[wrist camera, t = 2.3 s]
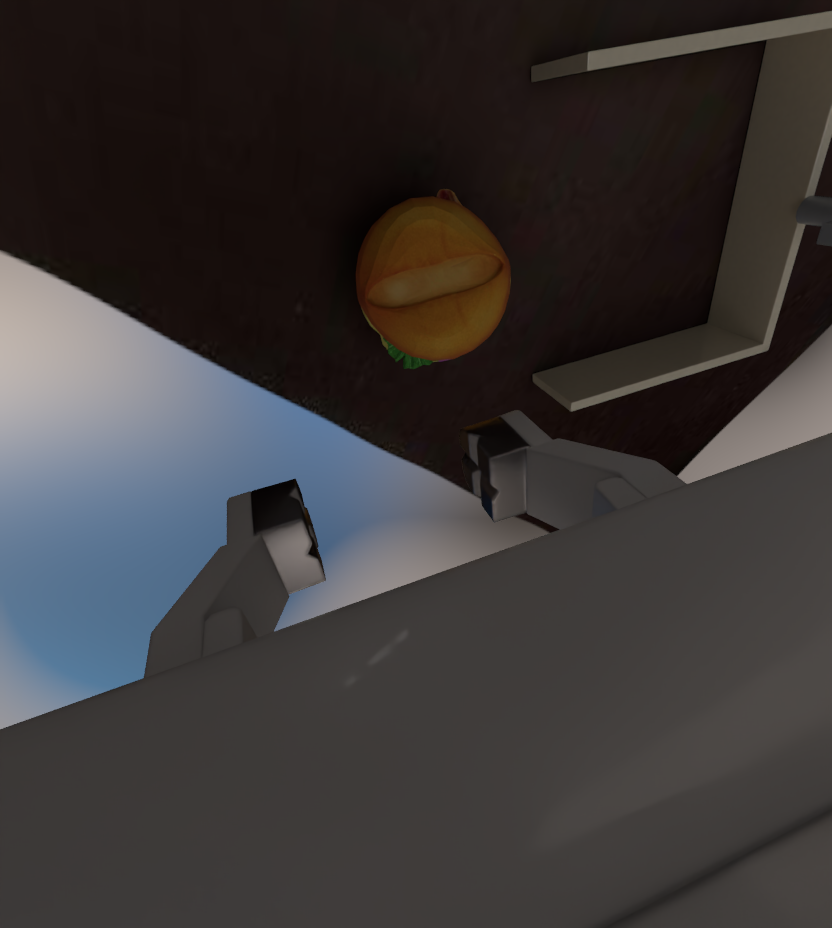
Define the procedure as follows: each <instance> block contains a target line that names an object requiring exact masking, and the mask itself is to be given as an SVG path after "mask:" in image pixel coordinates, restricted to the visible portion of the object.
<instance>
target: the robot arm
mask: <svg viewBox="0 0 832 928" xmlns="http://www.w3.org/2000/svg"><path fill="white" fill-rule="evenodd" d="M459 440H460V445H461V446H462V448H463V449H464V450H465V454H464V456H463V458H462V466H463V472H464V475H465V478H466V481H467V483H468V485H469V487H470V489H471V491H472V492H473V494H474V495H477V496H480V497H481V501H482V506H483V508H484V509H485V511H486V512H487V513H488V515H489V516H490V517H491V519H492V520H493V522H497V521H500V520H504V519H507V518H510V517H513V516H516V515H520V514H523V513H526V512H527V514H529V515H531V516H533V517H535V518H538V519H540V520H542V521H544V522H546V523H548V524H550V525H552V526H554V527H556V528H558V529H561V530H558V531H555V532H552V533H550V534H547V535H544V536H541V537H538V538H536V539H533V540H530V541H527V542H524V543H522V544H519V545H516V546H513V547H511V548H508V549H505V550H502V551H499V552H497V553H494V554H491V555H488V556H485V557H482V558H480V559H477V560H474V561H471V562H468V563H466V564H463V565H460V566H457V567H455V568H452V569H449V570H446V571H443V572H441V573H437V574H435V575H432V576H429V577H426V578H423V579H421V580H418V581H415V582H412V583H410V584H407V585H404V586H401V587H398V588H396V589H393V590H390V591H387V592H384V593H381V594H379V595H376V596H373V597H370V598H368V599H365V600H362V601H359V602H356V603H353V604H351V605H348V606H345V607H342V608H340V609H337V610H334V611H331V612H328V613H325V614H323V615H320V616H317V617H314V618H311V619H309V620H306V621H303V622H300V623H297V624H295V625H292V626H289V627H286V628H283V629H281V630H278V631H275V632H274V629H275V627H276V625H277V623H278V621H279V618H280V616H281V614H282V612H283V609H284V607H285V605H286V602H287V600H288V598H289V594H291V593H294V592H297V591H299V590H302V589H305V588H307V587H310V586H313V585H315V584H318V583H321V582H323V581H325V580H326V578H325V574H324V569H323V565H322V560H321V557H320V554H319V552H318V549H317V548H318V543H317V538H316V535H315V532H314V528H313V524H312V522H311V519H310V515H309V513H308V510H307V508H305V507H304V502H303V498H302V494H301V491H300V488H299V486H298V484H297V481H296V479H293V480H289V481H286V482H282V483H279V484H275V485H272V486H268V487H265V488H261V489H257V490H254V491H252V492H247V493H243V494H240V495H237V496H234V497H231V498H229V499H228V501H227V545H225V546H222V547H220V548H219V549H218V551H217V552H216V553H215V554H214V556H213V557H212V558H211V559H210V560H209V562H208V563H207V564H206V565H205V567H204V568H203V569H202V570H201V572H200V573H199V574H198V575H197V577H196V578H195V579H194V580H193V582H192V583H191V584H190V585H189V587H188V588H187V589H186V590H185V592H184V593H183V594H182V595H181V597H180V598H179V599H178V600H177V602H176V603H175V604H174V605H173V606H172V608H171V609H170V610H169V612H168V613H167V614H166V615H165V617H164V618H163V619H162V620H161V621H160V623H159V624H158V625H157V626H156V628H155V629H154V630H153V631H152V633H151V637H150V644H149V650H148V656H147V662H146V668H145V674H144V678H143V679H140V680H138V681H135V682H132V683H129V684H126V685H124V686H121V687H118V688H116V689H112V690H110V691H107V692H104V693H101V694H98V695H96V696H93V697H90V698H87V699H84V700H82V701H79V702H76V703H73V704H70V705H68V706H65V707H62V708H59V709H57V710H54V711H51V712H48V713H45V714H42V715H40V716H37V717H34V718H31V719H29V720H26V721H23V722H20V723H17V724H14V725H12V726H9V727H6V728H3V729H0V928H832V433H830V434H827V435H824V436H821V437H818V438H816V439H813V440H810V441H807V442H804V443H802V444H799V445H796V446H793V447H790V448H788V449H785V450H782V451H779V452H776V453H774V454H771V455H768V456H765V457H763V458H760V459H757V460H754V461H751V462H749V463H746V464H743V465H740V466H737V467H735V468H732V469H729V470H726V471H723V472H720V473H718V474H715V475H712V476H709V477H706V478H704V479H701V480H698V481H695V482H692V483H690V484H686V483H684V482H683V481H682V480H681V479H679V478H678V477H677V476H675V475H674V474H672V473H671V472H670V471H668V470H667V469H666V468H664V467H663V466H662V465H660V464H659V463H658V462H656V461H654V460H649V459H645V458H641V457H636V456H632V455H628V454H624V453H619V452H615V451H611V450H606V449H602V448H598V447H593V446H589V445H585V444H580V443H576V442H572V441H567V440H563V439H559V438H558V439H555V440H552V439H551V438H550V437H549V436H548V435H547V434H545V433H544V432H543V431H542V430H541V429H540V428H539V427H538V426H536V425H535V424H534V423H533V422H532V421H531V420H530V419H529V418H527V417H526V416H525V415H524V414H523V413H522V412H521V411H518V410H515V411H512V412H509V413H507V414H504V415H501V416H498V417H496V418H493V419H490V420H487V421H483V422H480V423H477V424H474V425H471V426H468V427H465V428H462V429H460V431H459Z"/></svg>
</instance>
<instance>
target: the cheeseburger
mask: <svg viewBox="0 0 832 928" xmlns="http://www.w3.org/2000/svg"><path fill="white" fill-rule="evenodd" d="M510 280H511V278H510V264H509V260H508V258H507V256H506V254H505V252H504V250H503V249H502V247H501V245H500V243H499V242H498V240H497V238H496V237H495V236H494V235H493V233H492V232H491V231H490V230H489V229H488V227H487V226H486V225H485V224H484V223H483V221H482V220H480V219H479V218H478V217H477V216H476V215H475V214H473V213H472V212H471V211H470V210H469V209H467V208H465V207H464V206H462V205H461V203H460V202H459V201H458V199H457V197H456V195H455V193H454V192H453V191H451V190H449V189H440V190H439V191H438V193H437V197H434V196H430V197H419V198H410V199H408V200H406V201H404V202H402V203H400V204H398V205H396V206H394V207H392V208H390V209H389V210H387V211H386V212H385V213H384V214H383V215H382V216H381V217H380V218H379V219H378V220H377V221H376V222H375V223H374V224H373V225H372V226H371V228H370V230H369V231H368V233H367V235H366V236H365V238H364V240H363V243H362V246H361V248H360V251H359V254H358V260H357V268H356V287H357V297H358V301H359V304H360V306H361V309H362V311H363V313H364V316H365V318H366V319H367V321H368V323H369V325H370V326H371V327H372V328H373V329H374V330H375V331H377V332H378V333H379V334H380V336H381V339H382V343H383V345H384V346H385V347H386V348H387V349H388V354H389V355H391V356H392V357H393V358H395V360H396V362H397V361H398V360H400V359H401V358H402V357H403V368H404V369H406V368H411V369H415V368H417V367H419V366H421V365H430V364H431V363H432V362H436V361H440V362H441V361H446V360H450V359H455V358H457V357H459V356H461V355H463V354H466V353H468V352H470V351H472V350H474V349H475V348H476V347H477V346H479V345H480V344H481V343H482V342H483V341H485V340H486V339H487V338H488V337H489V336H490V335H491V334H492V332H493V331H494V330H495V328H496V327H497V325H498V324H499V322H500V320H501V318H502V316H503V314H504V312H505V309H506V305H507V300H508V296H509V293H510Z"/></svg>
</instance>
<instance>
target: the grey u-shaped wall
mask: <svg viewBox="0 0 832 928" xmlns="http://www.w3.org/2000/svg"><path fill="white" fill-rule="evenodd" d="M765 41H766V46H765V51H764V56H763V60H762V65H761V70H760V75H759V79H758V84H757V89H756V94H755V98H754V103H753V108H752V113H751V117H750V122H749V127H748V132H747V136H746V141H745V146H744V151H743V155H742V160H741V165H740V170H739V174H738V179H737V184H736V189H735V193H734V198H733V203H732V208H731V212H730V217H729V222H728V226H727V231H726V236H725V241H724V245H723V250H722V255H721V260H720V264H719V269H718V274H717V279H716V283H715V288H714V293H713V298H712V302H711V307H710V312H709V317H708V321H707V323H706V324H703V325H699V326H696V327H692V328H689V329H685V330H682V331H679V332H675V333H672V334H668V335H665V336H661V337H658V338H655V339H651V340H648V341H644V342H641V343H637V344H634V345H631V346H627V347H624V348H620V349H617V350H613V351H610V352H607V353H603V354H600V355H596V356H593V357H589V358H586V359H583V360H579V361H576V362H572V363H569V364H565V365H562V366H559V367H555V368H552V369H548V370H545V371H541V372H538V373H534V374H533V383H535V384H536V385H537V386H539V387H540V388H541V389H542V390H544V391H545V392H546V393H548V394H549V395H550V396H551V397H553V398H554V399H555V400H557V401H558V402H559V403H561V404H562V405H563V406H564V407H566V408H567V409H568V410H570V411H575V410H578V409H581V408H584V407H588V406H591V405H594V404H597V403H600V402H604V401H607V400H610V399H613V398H617V397H620V396H623V395H626V394H629V393H633V392H636V391H639V390H642V389H646V388H649V387H652V386H655V385H658V384H662V383H665V382H668V381H671V380H674V379H678V378H681V377H684V376H687V375H691V374H694V373H697V372H700V371H703V370H707V369H710V368H713V367H716V366H719V365H723V364H726V363H729V362H732V361H736V360H739V359H742V358H745V357H748V356H752V355H755V354H758V353H761V352H764V351H768V349H769V346H770V343H771V339H772V336H773V332H774V329H775V326H776V322H777V319H778V315H779V312H780V309H781V305H782V302H783V298H784V295H785V292H786V288H787V285H788V282H789V278H790V275H791V271H792V268H793V265H794V261H795V258H796V254H797V251H798V248H799V244H800V241H801V238H802V234H803V231H804V227H805V225H812V226H819V227H821V230H820V233H819V236H818V240H817V244H821V245H827V246H832V197H825V196H814V194H815V190H816V187H817V183H818V180H819V177H820V173H821V170H822V167H823V163H824V160H825V156H826V153H827V150H828V146H829V143H830V140H831V136H832V11H827V12H821V13H815V14H809V15H803V16H797V17H791V18H786V19H780V20H774V21H768V22H762V23H756V24H750V25H744V26H738V27H732V28H726V29H720V30H714V31H708V32H702V33H696V34H690V35H684V36H678V37H672V38H666V39H660V40H654V41H648V42H642V43H636V44H630V45H624V46H618V47H613V48H607V49H601V50H595V51H589V52H585V53H581V54H577V55H573V56H569V57H565V58H562V59H558V60H554V61H550V62H546V63H542V64H538V65H534V66H532V67H531V82H538V81H543V80H549V79H555V78H560V77H566V76H572V75H577V74H583V73H589V72H594V71H600V70H606V69H611V68H617V67H623V66H628V65H634V64H640V63H645V62H651V61H657V60H662V59H668V58H674V57H680V56H685V55H691V54H697V53H702V52H708V51H714V50H719V49H725V48H731V47H736V46H742V45H748V44H753V43H759V42H765Z"/></svg>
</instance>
